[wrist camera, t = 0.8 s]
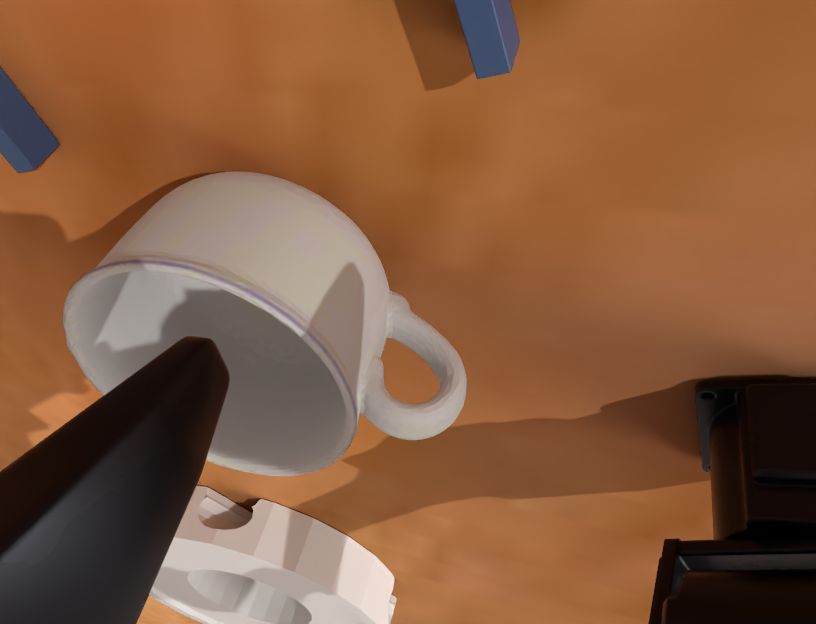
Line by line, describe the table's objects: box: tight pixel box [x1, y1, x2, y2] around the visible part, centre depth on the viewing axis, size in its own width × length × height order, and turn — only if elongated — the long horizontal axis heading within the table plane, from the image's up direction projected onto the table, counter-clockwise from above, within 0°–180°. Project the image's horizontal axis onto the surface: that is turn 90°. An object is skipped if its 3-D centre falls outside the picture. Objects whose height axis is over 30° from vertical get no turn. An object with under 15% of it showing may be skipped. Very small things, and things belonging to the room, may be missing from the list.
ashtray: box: [149, 486, 397, 624], centre depth 57 cm, size 23×23×4 cm
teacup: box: [63, 171, 467, 476], centre depth 26 cm, size 14×11×8 cm
